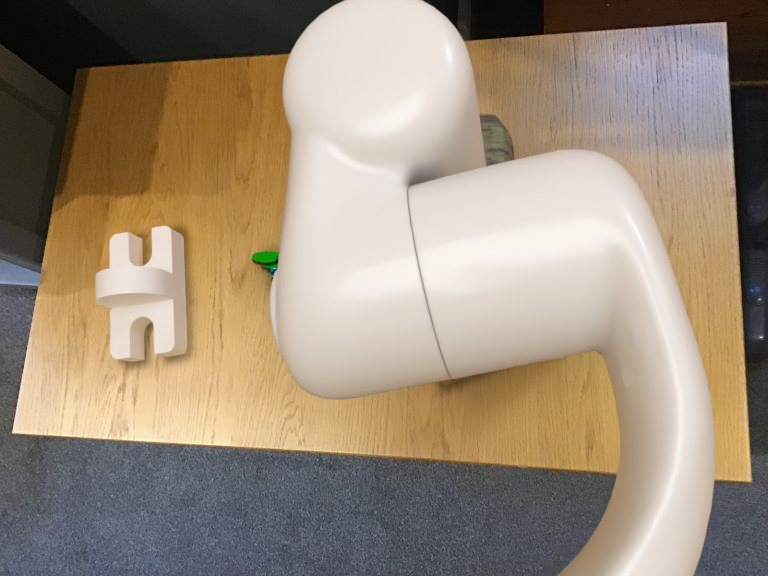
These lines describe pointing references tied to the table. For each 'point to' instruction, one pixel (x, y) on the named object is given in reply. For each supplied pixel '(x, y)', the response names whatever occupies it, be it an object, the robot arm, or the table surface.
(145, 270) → the white slotted bracket
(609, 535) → the robot arm
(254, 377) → the table surface
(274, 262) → the stick construction toy
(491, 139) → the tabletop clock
